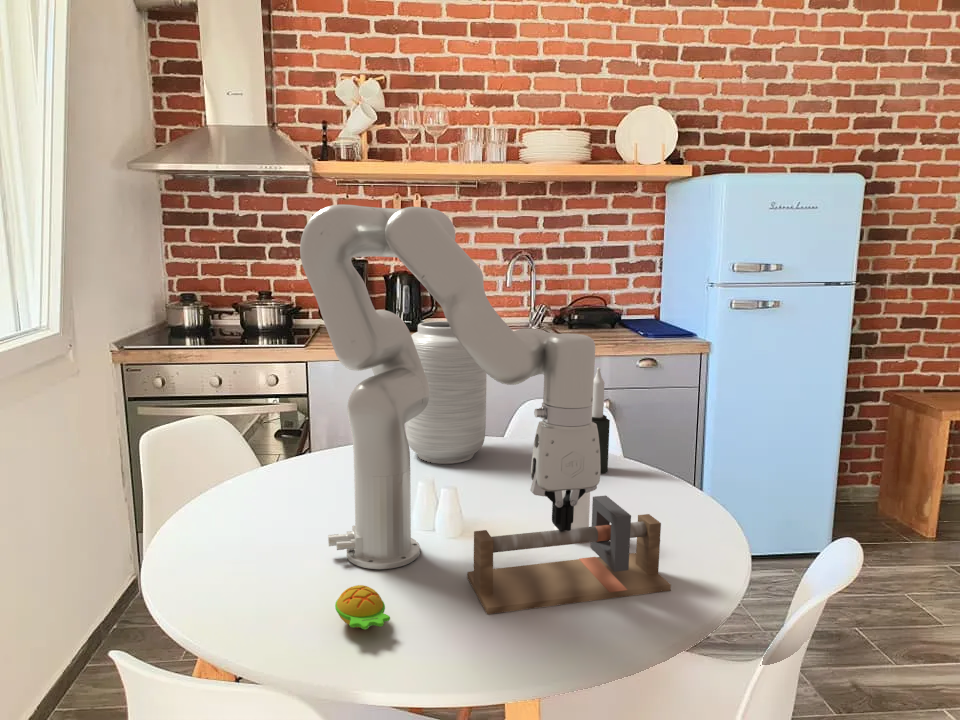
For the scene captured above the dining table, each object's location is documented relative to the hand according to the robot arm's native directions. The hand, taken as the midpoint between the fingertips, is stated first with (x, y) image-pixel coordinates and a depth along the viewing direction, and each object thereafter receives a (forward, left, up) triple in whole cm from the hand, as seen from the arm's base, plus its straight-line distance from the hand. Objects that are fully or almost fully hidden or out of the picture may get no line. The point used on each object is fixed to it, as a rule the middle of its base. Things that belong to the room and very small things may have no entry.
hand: (562, 527), depth 113 cm
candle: (+29, +52, -10) cm, 60 cm away
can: (+9, +18, -10) cm, 22 cm away
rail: (+1, 0, -10) cm, 10 cm away
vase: (-3, +72, -10) cm, 72 cm away
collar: (+8, 0, -6) cm, 10 cm away
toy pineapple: (-32, -5, -10) cm, 34 cm away
